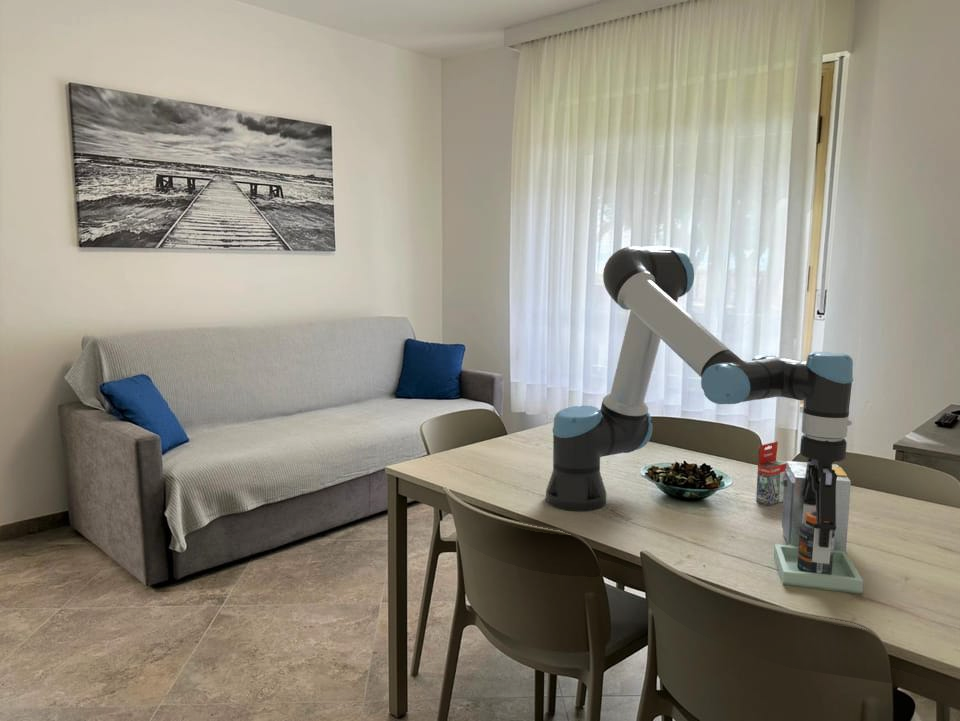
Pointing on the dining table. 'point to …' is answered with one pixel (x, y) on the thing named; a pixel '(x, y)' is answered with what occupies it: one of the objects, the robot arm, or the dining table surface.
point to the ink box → (770, 476)
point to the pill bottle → (811, 548)
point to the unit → (795, 504)
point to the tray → (839, 580)
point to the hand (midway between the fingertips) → (814, 549)
